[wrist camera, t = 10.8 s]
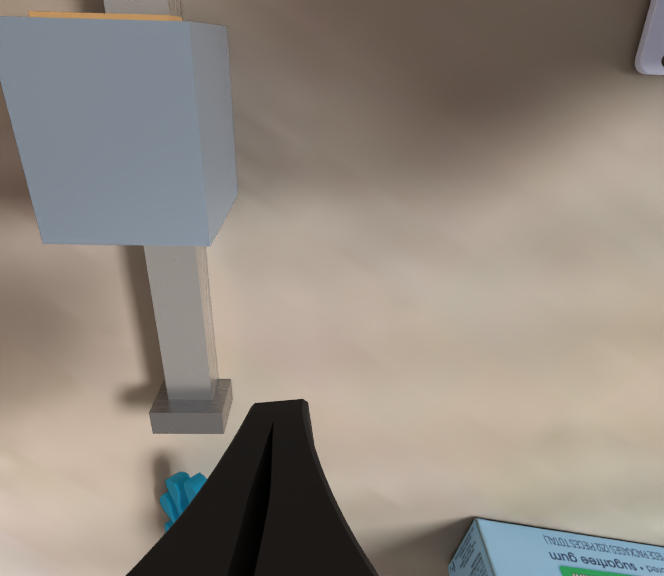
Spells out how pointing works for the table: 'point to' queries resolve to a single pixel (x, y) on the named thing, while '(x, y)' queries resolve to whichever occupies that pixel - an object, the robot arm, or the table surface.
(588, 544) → the gum box
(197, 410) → the rail
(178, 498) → the gear
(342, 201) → the table surface
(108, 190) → the block
